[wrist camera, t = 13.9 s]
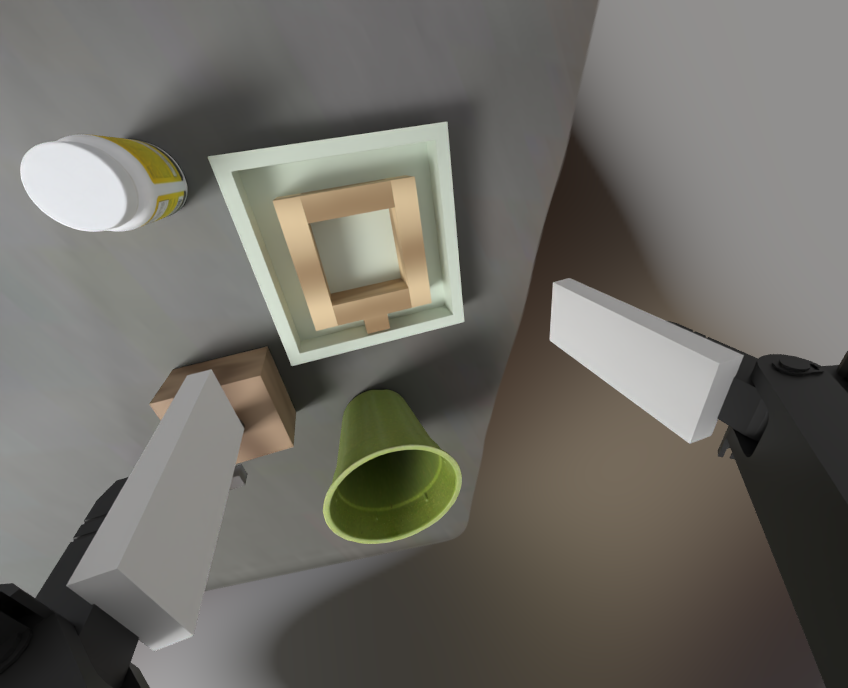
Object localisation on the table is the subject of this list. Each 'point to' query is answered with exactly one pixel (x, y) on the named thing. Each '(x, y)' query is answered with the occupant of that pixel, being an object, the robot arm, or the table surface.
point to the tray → (346, 230)
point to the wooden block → (244, 402)
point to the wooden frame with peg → (372, 298)
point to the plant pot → (387, 473)
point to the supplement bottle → (103, 182)
